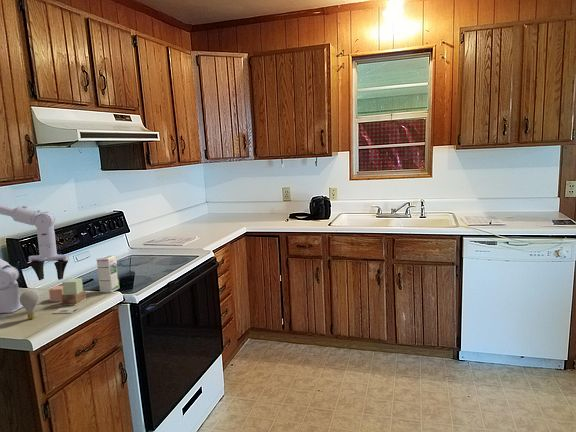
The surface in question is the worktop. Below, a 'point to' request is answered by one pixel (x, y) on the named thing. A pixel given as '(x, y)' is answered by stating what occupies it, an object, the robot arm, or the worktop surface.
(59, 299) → the terracotta block
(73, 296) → the walnut block
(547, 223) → the worktop surface
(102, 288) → the syrup box
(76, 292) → the sage block
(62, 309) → the card
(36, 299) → the light bulb
